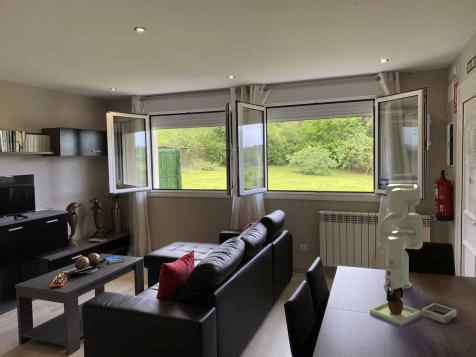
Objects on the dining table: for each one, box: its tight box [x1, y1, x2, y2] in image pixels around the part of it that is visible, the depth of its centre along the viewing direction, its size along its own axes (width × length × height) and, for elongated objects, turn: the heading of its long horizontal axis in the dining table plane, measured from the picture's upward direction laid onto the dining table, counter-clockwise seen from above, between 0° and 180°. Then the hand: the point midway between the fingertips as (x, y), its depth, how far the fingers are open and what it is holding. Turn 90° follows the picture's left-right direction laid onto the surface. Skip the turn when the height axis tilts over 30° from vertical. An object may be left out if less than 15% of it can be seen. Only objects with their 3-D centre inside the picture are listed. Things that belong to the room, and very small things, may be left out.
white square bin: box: [420, 302, 457, 324], centre depth 170 cm, size 10×11×3 cm
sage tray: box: [369, 300, 421, 327], centre depth 172 cm, size 16×16×2 cm
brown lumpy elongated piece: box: [388, 288, 404, 315], centre depth 171 cm, size 7×6×15 cm
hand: (394, 299), depth 172 cm, fingers open, 7 cm apart
